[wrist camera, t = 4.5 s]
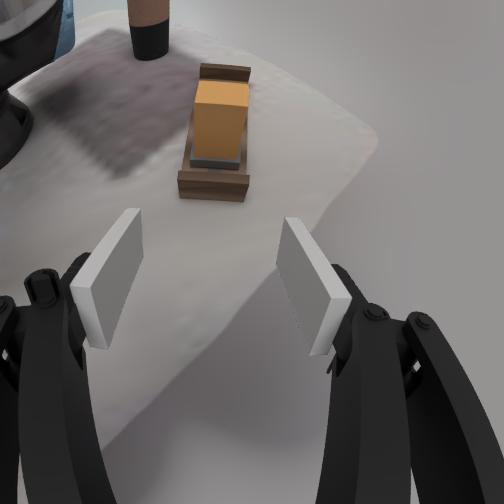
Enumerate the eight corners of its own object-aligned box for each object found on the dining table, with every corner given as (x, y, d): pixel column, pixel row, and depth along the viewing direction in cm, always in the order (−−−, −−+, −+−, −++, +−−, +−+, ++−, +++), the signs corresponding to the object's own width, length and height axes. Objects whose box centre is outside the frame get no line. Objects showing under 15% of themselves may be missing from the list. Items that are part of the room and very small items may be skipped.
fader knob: (238, 169, 32) (253, 110, 23) (190, 166, 32) (188, 105, 22) (239, 142, 34) (253, 82, 24) (194, 139, 33) (195, 78, 23)
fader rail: (243, 202, 34) (249, 184, 30) (179, 198, 33) (177, 179, 28) (246, 86, 40) (250, 67, 36) (200, 83, 39) (201, 63, 35)
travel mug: (128, 63, 39) (119, -21, 20) (138, 45, 41) (133, -31, 22) (165, 60, 40) (165, -28, 21) (172, 42, 42) (175, -36, 23)
